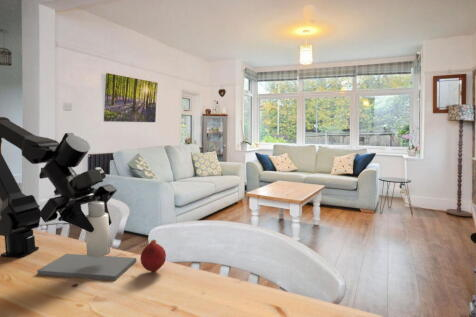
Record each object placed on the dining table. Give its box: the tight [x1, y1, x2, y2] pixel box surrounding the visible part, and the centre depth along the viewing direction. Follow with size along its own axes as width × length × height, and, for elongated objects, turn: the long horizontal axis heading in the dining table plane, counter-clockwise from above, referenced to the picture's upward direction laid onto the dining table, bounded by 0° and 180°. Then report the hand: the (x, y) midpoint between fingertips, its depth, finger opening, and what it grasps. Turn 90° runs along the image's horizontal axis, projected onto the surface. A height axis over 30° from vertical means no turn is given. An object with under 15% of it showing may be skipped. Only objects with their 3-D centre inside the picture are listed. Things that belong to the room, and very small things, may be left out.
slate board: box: [36, 253, 137, 281], centre depth 79 cm, size 20×10×1 cm, turn 81°
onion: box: [139, 238, 167, 273], centre depth 76 cm, size 6×6×8 cm
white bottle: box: [85, 201, 111, 258], centre depth 77 cm, size 5×5×12 cm
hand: (101, 227), depth 77 cm, fingers closed on white bottle, 5 cm apart
